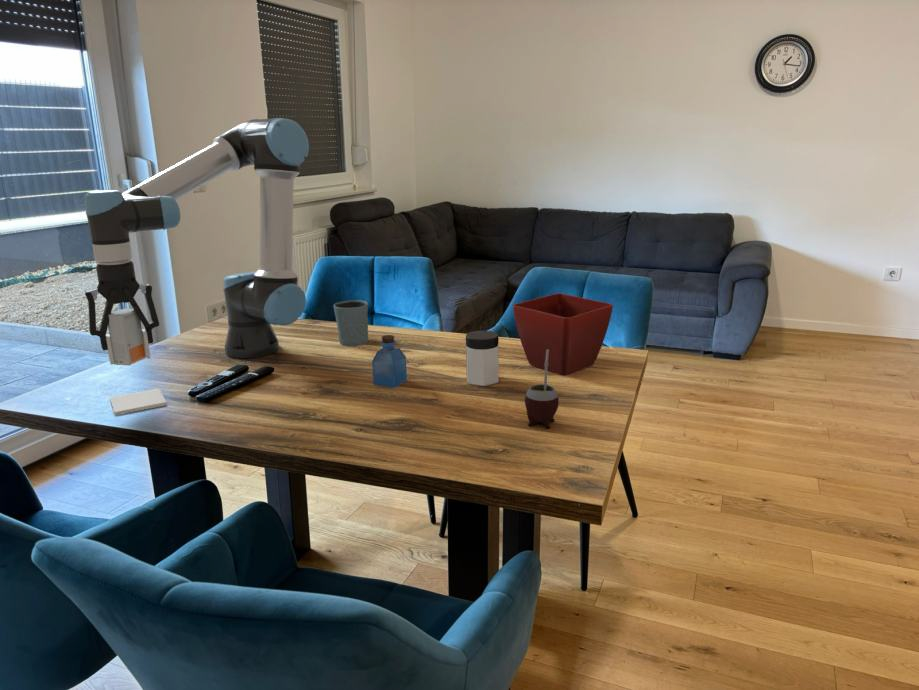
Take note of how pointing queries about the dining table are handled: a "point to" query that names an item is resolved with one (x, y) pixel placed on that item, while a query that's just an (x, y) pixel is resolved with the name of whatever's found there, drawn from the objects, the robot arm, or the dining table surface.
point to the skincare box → (126, 337)
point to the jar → (482, 358)
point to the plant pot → (562, 331)
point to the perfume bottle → (389, 364)
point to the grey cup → (352, 322)
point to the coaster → (137, 401)
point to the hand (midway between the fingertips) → (130, 359)
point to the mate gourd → (541, 402)
